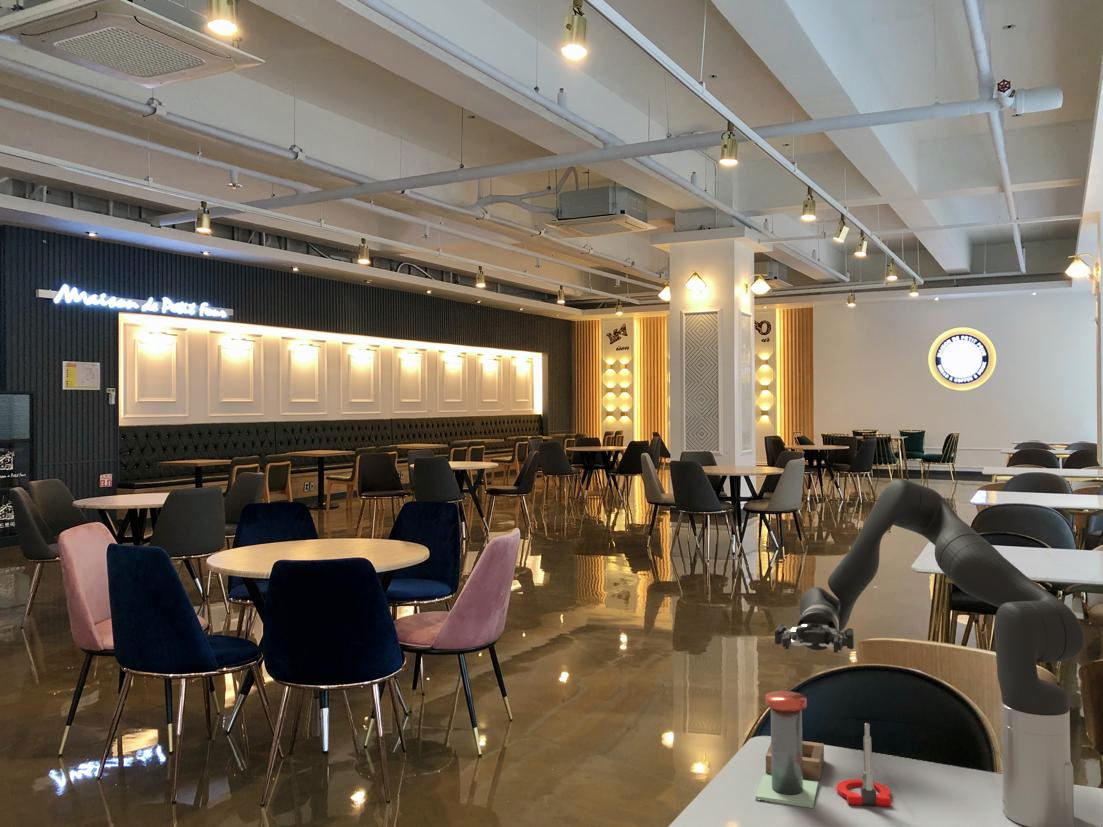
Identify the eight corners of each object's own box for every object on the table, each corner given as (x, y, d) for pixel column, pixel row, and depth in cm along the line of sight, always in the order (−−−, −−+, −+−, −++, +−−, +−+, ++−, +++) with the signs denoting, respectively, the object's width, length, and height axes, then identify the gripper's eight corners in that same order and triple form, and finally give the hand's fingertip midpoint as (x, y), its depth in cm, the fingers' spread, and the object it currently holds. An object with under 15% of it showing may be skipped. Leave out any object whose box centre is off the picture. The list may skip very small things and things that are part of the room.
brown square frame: (824, 760, 161) (823, 743, 161) (819, 779, 153) (819, 762, 153) (773, 754, 165) (772, 737, 165) (765, 772, 156) (765, 755, 156)
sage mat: (818, 785, 151) (818, 782, 151) (812, 808, 142) (812, 804, 142) (763, 778, 154) (763, 774, 154) (755, 799, 146) (755, 796, 146)
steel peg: (809, 783, 150) (808, 693, 150) (805, 799, 144) (804, 705, 144) (769, 778, 152) (768, 689, 152) (764, 794, 146) (762, 701, 146)
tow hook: (833, 784, 152) (842, 806, 143) (831, 707, 153) (840, 724, 143) (884, 787, 151) (897, 809, 142) (883, 709, 151) (895, 726, 142)
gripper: (781, 605, 180) (770, 622, 165) (855, 609, 175) (851, 627, 160) (782, 643, 180) (771, 663, 165) (856, 647, 175) (853, 669, 160)
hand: (811, 645), depth 162 cm, fingers open, 8 cm apart
